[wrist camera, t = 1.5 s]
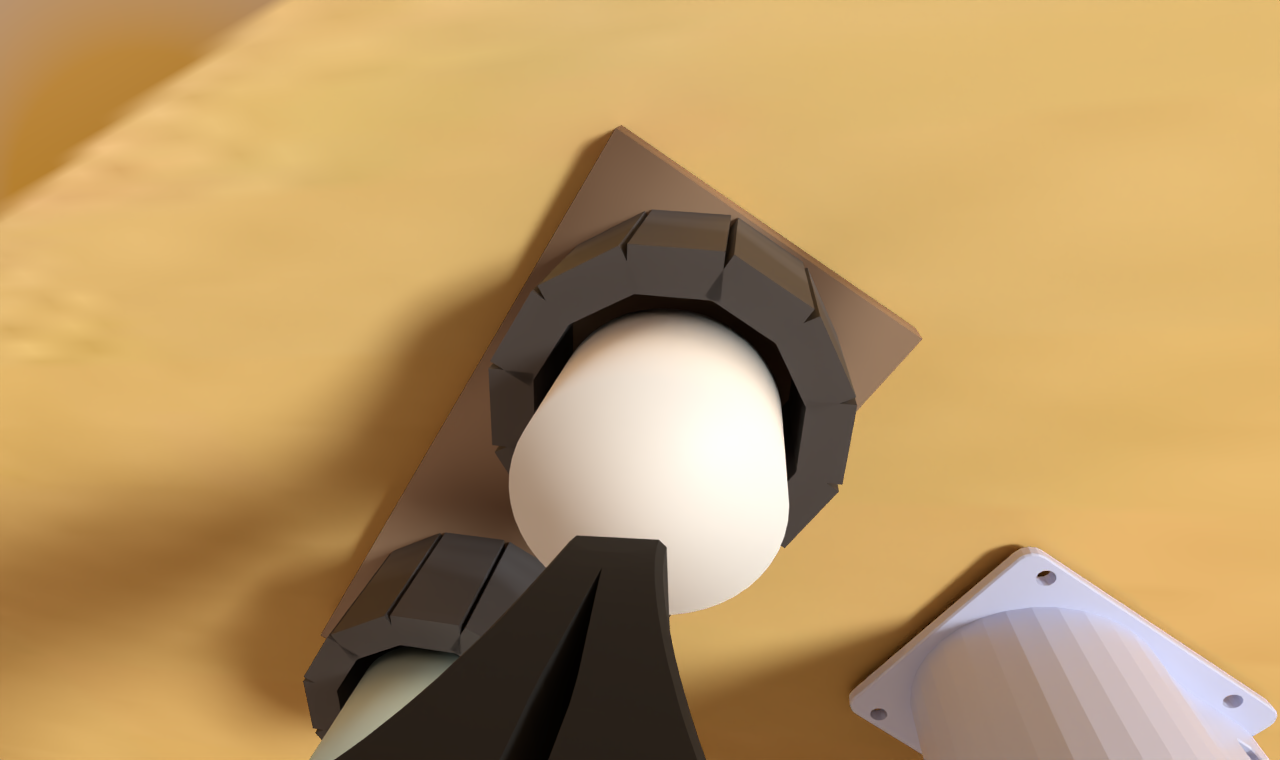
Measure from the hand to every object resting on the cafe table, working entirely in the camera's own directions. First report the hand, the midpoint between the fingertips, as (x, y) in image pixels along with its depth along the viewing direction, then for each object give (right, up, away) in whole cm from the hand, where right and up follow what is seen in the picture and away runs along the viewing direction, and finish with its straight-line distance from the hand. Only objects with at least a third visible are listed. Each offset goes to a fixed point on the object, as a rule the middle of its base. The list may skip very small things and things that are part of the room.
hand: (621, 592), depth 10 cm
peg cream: (+1, +2, +5) cm, 6 cm away
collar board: (-2, -1, +11) cm, 12 cm away
